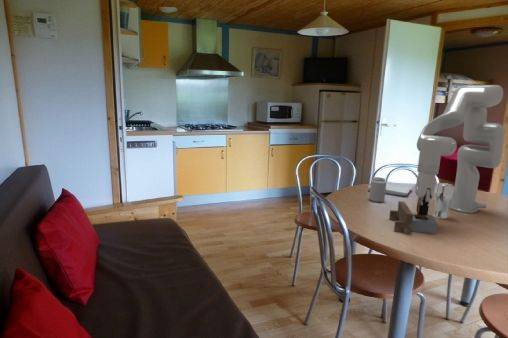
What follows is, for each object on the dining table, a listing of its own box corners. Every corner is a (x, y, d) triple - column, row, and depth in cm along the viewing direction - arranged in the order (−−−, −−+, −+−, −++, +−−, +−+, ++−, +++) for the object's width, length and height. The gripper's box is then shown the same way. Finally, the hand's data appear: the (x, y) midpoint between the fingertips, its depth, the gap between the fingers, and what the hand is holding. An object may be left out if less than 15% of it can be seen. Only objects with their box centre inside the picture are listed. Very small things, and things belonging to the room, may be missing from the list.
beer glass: (447, 215, 158) (452, 183, 155) (450, 220, 151) (456, 187, 148) (431, 213, 160) (435, 182, 157) (433, 218, 154) (438, 185, 151)
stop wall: (402, 219, 150) (404, 201, 149) (410, 234, 133) (413, 214, 132) (388, 217, 152) (390, 200, 150) (395, 232, 134) (397, 212, 133)
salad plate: (407, 198, 185) (407, 192, 185) (366, 192, 196) (367, 186, 195) (412, 190, 203) (413, 185, 202) (375, 185, 214) (376, 179, 213)
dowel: (423, 219, 141) (428, 191, 139) (425, 222, 138) (429, 193, 136) (415, 218, 142) (419, 190, 139) (417, 221, 139) (421, 192, 136)
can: (386, 203, 174) (389, 180, 172) (371, 202, 174) (374, 179, 172) (381, 199, 182) (383, 176, 179) (367, 198, 182) (369, 176, 179)
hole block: (429, 225, 144) (431, 214, 143) (435, 233, 135) (437, 222, 134) (404, 222, 146) (405, 212, 146) (408, 230, 137) (409, 219, 136)
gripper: (413, 164, 144) (408, 206, 148) (422, 171, 129) (416, 218, 132) (433, 166, 143) (426, 208, 146) (444, 173, 127) (437, 221, 131)
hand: (421, 213), depth 139 cm, fingers closed on dowel, 3 cm apart
